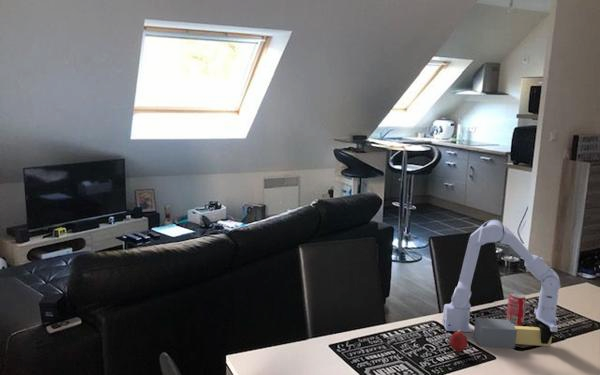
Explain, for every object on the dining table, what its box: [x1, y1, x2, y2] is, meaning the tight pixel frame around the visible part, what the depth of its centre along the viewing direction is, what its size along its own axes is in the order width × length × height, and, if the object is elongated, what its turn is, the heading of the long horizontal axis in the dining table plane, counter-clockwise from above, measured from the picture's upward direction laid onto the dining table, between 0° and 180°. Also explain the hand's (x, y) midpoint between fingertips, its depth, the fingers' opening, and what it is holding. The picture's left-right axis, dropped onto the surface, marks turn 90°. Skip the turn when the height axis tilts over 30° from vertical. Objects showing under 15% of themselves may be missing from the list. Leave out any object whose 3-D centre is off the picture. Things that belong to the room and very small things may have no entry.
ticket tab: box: [515, 325, 553, 347], centre depth 171 cm, size 16×2×6 cm, turn 86°
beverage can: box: [505, 292, 527, 326], centre depth 186 cm, size 6×6×12 cm
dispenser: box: [473, 317, 517, 349], centre depth 172 cm, size 12×8×7 cm, turn 86°
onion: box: [449, 330, 468, 353], centre depth 164 cm, size 6×6×8 cm
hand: (542, 341), depth 171 cm, fingers closed on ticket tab, 2 cm apart
